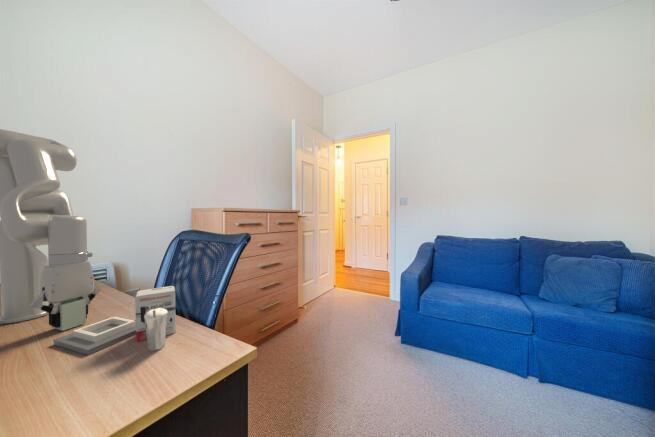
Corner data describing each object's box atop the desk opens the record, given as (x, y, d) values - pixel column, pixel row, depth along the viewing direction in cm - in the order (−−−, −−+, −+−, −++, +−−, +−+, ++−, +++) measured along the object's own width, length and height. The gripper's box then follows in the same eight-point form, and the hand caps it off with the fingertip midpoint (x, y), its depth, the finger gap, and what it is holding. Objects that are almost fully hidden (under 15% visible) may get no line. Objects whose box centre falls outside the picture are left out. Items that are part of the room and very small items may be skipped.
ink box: (135, 342, 60) (134, 295, 60) (137, 334, 64) (136, 290, 64) (176, 333, 64) (175, 289, 64) (175, 326, 69) (174, 285, 68)
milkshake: (142, 356, 54) (141, 312, 54) (147, 345, 58) (146, 304, 58) (166, 351, 56) (165, 308, 56) (169, 340, 61) (168, 301, 60)
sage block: (52, 327, 67) (51, 303, 67) (75, 320, 72) (75, 297, 72) (62, 330, 66) (62, 305, 66) (86, 323, 70) (85, 299, 70)
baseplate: (53, 344, 59) (53, 333, 59) (119, 320, 72) (118, 311, 72) (88, 355, 55) (88, 343, 54) (151, 327, 68) (151, 318, 68)
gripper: (97, 253, 78) (98, 309, 78) (15, 264, 62) (16, 334, 62) (112, 255, 75) (112, 312, 76) (30, 266, 59) (32, 339, 60)
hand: (69, 321), depth 69 cm, fingers closed on sage block, 5 cm apart
